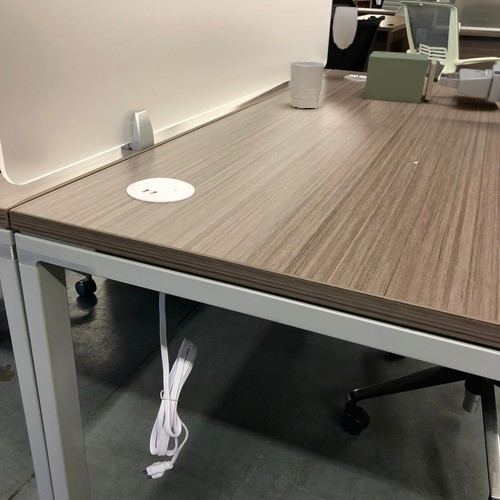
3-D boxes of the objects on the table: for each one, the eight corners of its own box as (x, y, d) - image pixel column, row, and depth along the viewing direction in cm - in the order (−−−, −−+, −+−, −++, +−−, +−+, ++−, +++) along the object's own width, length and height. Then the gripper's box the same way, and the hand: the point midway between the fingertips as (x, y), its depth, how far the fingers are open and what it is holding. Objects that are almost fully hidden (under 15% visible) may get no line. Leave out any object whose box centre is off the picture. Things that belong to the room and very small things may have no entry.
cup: (326, 80, 159) (333, 7, 149) (329, 76, 165) (335, 6, 156) (349, 81, 158) (358, 8, 148) (351, 78, 164) (359, 7, 154)
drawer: (434, 92, 140) (440, 59, 136) (434, 100, 131) (441, 64, 126) (380, 88, 144) (384, 55, 140) (377, 95, 134) (381, 60, 130)
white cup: (283, 103, 126) (285, 61, 121) (311, 102, 128) (314, 60, 124) (296, 110, 119) (299, 66, 115) (326, 109, 122) (330, 65, 117)
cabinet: (420, 94, 142) (428, 54, 137) (420, 103, 131) (428, 60, 126) (368, 90, 146) (373, 51, 141) (363, 98, 135) (369, 56, 130)
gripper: (497, 65, 136) (443, 61, 140) (502, 76, 119) (440, 71, 123) (491, 89, 139) (438, 85, 143) (495, 103, 122) (435, 97, 126)
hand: (439, 78), depth 133 cm, fingers open, 8 cm apart
